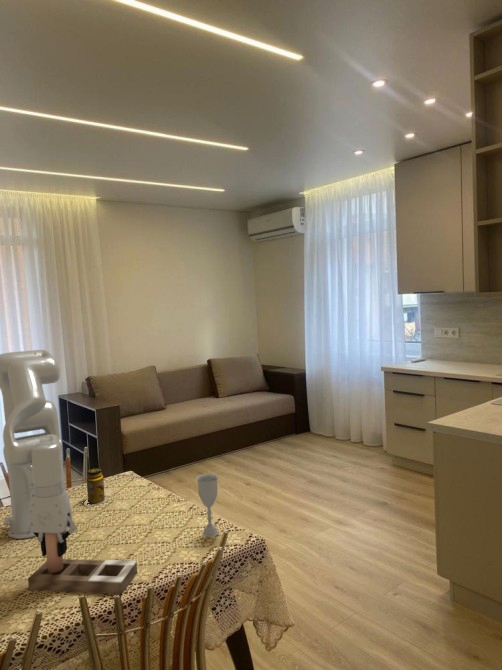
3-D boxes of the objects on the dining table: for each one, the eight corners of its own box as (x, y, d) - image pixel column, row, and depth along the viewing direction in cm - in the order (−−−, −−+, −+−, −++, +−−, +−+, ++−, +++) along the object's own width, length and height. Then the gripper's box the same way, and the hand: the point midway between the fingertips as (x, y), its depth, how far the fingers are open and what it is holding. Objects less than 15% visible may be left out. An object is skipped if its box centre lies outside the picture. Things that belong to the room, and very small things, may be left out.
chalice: (194, 533, 156) (191, 478, 155) (210, 526, 161) (207, 472, 160) (210, 540, 151) (207, 483, 150) (226, 532, 156) (223, 476, 155)
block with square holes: (28, 589, 130) (27, 577, 130) (50, 568, 140) (49, 557, 140) (122, 594, 126) (121, 581, 125) (137, 572, 136) (136, 560, 135)
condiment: (109, 500, 187) (106, 469, 186) (88, 507, 181) (85, 475, 180) (100, 495, 192) (97, 465, 191) (79, 502, 186) (76, 471, 186)
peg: (44, 572, 133) (41, 529, 132) (52, 564, 137) (49, 522, 136) (58, 573, 132) (55, 529, 131) (66, 564, 136) (63, 522, 135)
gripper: (12, 493, 130) (17, 560, 132) (70, 495, 127) (76, 563, 129) (29, 482, 137) (34, 545, 139) (85, 483, 135) (89, 548, 136)
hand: (54, 553), depth 134 cm, fingers closed on peg, 4 cm apart
